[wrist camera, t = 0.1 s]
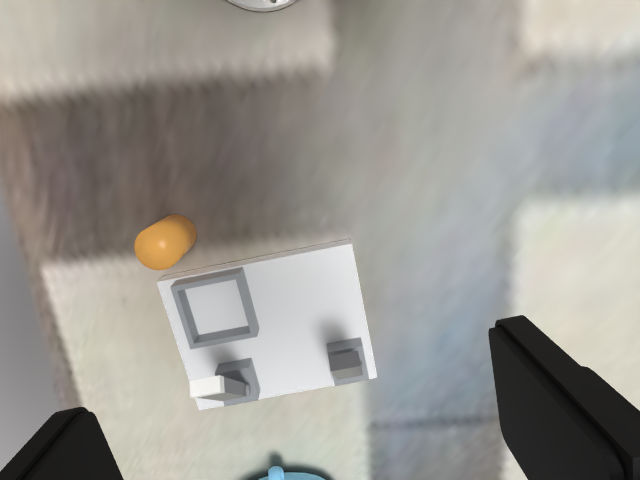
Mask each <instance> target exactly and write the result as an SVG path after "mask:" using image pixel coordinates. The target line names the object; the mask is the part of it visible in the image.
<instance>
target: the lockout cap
mask: <svg viewBox="0 0 640 480" xmlns="http://www.w3.org/2000/svg"><path fill="white" fill-rule="evenodd" d="M196 236H197V234H196V229H195V227H194V225H193V223H192V222H191V221H190V220H189V219H187V218H186V217H184V216H181V215H169V216H167V217H165V218H163V219H161V220H160V221H158V222H157V223H155V224H153V225H152V226H150V227H148V228H147V229H145V230H143V231H142V232H141V233H140V234H139V235H138V236H137V238H136V240H135V245H134V248H135V253H136V256H137V258H138V259H139V261H140V262H141V263H142V264H143V265H145V266H146V267H148V268H150V269H154V270H165V269H168V268H170V267H171V266H173V265H174V264H175V263H176V262H177V261H178V260H179V259H180V258H181V257H182V256H183V255H184V254H185V253H186V252H187V251H188V250H189V249H190V248H191V247H192V246H193V245H194V243H195V241H196Z"/></svg>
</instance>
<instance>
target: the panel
mask: <svg viewBox="0 0 640 480" xmlns="http://www.w3.org/2000/svg"><path fill="white" fill-rule="evenodd" d="M157 285H158V288H159V291H160V294H161V297H162V300H163V303H164V306H165V309H166V312H167V315H168V318H169V321H170V324H171V327H172V330H173V333H174V336H175V340H176V343H177V346H178V349H179V352H180V355H181V358H182V361H183V364H184V367H185V370H186V373H187V376H188V379H189V382H190V381H191V380H197V379H202V378H207V377H213V376H218V375H220V376H224V377H226V378H229V379H233V380H236V381H239V382H242V383H245V385H247V384H249V386H250V396H246V397H242V398H236V399H231V400H226V401H216V400H209V399H202V398H195V400H196V403H197V406H198V409H199V410H204V409H209V408H215V407H220V406H229V405H235V404H240V403H246V402H251V401H256V400H258V399H263V398H269V397H274V396H280V395H285V394H291V393H296V392H301V391H307V390H312V389H318V388H323V387H329V386H334V385H335V386H338V385H343V384H349V383H354V382H360V381H365V380H369V379H372V378H377V374H376V368H375V363H374V358H373V352H372V347H371V342H370V337H369V331H368V326H367V321H366V316H365V310H364V305H363V300H362V294H361V289H360V284H359V279H358V273H357V268H356V263H355V257H354V252H353V247H352V242H351V239H346V240H341V241H336V242H331V243H326V244H321V245H316V246H311V247H306V248H301V249H296V250H291V251H286V252H281V253H276V254H271V255H265V256H260V257H255V258H250V259H245V260H240V261H235V262H230V263H225V264H220V265H215V266H210V267H205V268H200V269H195V270H190V271H185V272H180V273H175V274H170V275H165V276H162V277H161V278H160V279H159V280H158V281H157ZM352 351H358V353H359V358H360V362H361V363H363V368H364V373H365V374H364V375H361V376H356V377H350V378H345V379H339V380H336V378H335V376H334V375H333V374H332V372H331V370H330V364H329V358H328V356H331V355H336V354H342V353H347V352H352Z"/></svg>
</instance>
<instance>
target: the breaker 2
mask: <svg viewBox="0 0 640 480" xmlns="http://www.w3.org/2000/svg"><path fill="white" fill-rule="evenodd" d="M328 358H329V364H330V370H331V372H332V374H333V375H334V376H335V378H336V380H339V379H345V378H350V377H356V376H361V375H364V374H365V373H364V368H363V363H361V362H360V358H359V353H358V351H352V352H347V353H342V354H336V355H331V356H328Z"/></svg>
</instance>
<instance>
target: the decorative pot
mask: <svg viewBox="0 0 640 480" xmlns="http://www.w3.org/2000/svg"><path fill="white" fill-rule="evenodd" d="M258 480H325V479H323V478H322V477H320V476H317V475H314V474H309V473H299V472H286V473H284V471H283V469H282V468H281V467H279V466H273V467H271V468H270V469H269V470H268V476H266V477H263V478H260V479H258Z"/></svg>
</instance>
